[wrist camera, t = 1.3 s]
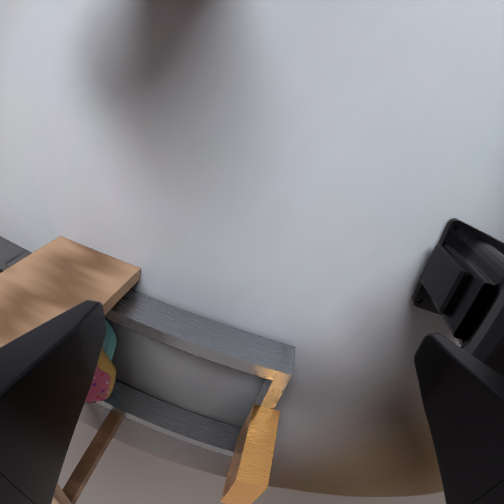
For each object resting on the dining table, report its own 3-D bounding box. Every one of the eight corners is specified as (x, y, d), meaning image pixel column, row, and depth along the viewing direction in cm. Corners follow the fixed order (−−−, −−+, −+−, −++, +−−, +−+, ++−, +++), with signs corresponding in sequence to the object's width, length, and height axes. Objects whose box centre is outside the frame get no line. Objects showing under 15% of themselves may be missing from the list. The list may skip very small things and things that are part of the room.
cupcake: (54, 282, 25) (-35, 357, 14) (130, 302, 24) (41, 406, 13) (73, 353, 28) (9, 430, 17) (142, 377, 27) (84, 474, 16)
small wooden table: (148, 269, 22) (4, 427, 8) (137, 405, 30) (74, 519, 15) (55, 233, 23) (-89, 329, 9) (68, 370, 30) (-7, 464, 16)
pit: (31, 252, 24) (10, 265, 22) (42, 338, 29) (27, 354, 26) (-9, 231, 25) (-28, 242, 22) (4, 313, 29) (-11, 326, 26)
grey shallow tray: (301, 349, 22) (291, 461, 14) (253, 437, 28) (234, 520, 19) (43, 251, 23) (-36, 304, 15) (55, 354, 29) (5, 410, 20)
